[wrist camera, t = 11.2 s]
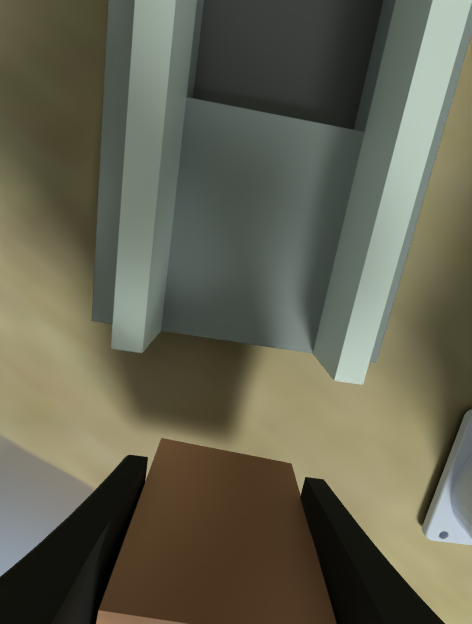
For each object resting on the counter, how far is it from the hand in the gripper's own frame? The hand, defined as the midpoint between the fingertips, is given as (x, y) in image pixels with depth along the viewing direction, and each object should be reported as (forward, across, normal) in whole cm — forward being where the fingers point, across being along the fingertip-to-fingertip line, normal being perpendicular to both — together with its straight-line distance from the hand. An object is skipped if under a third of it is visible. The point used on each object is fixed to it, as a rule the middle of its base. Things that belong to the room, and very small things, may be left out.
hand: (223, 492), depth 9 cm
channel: (+5, 0, -12) cm, 13 cm away
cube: (-1, 0, 0) cm, 1 cm away
